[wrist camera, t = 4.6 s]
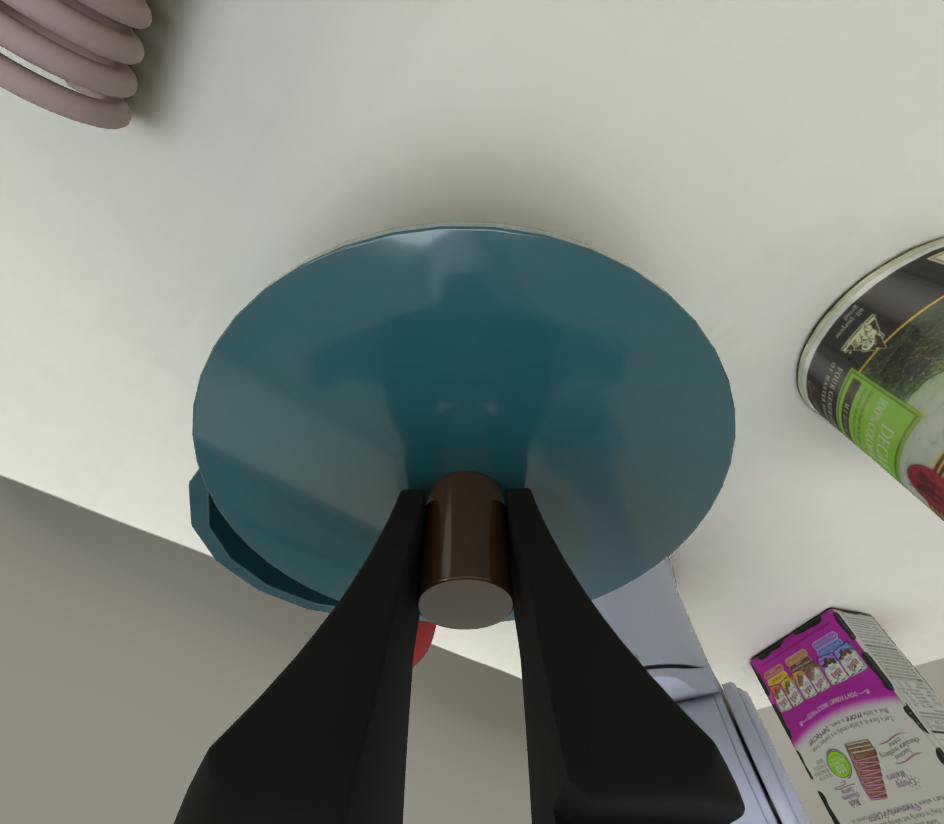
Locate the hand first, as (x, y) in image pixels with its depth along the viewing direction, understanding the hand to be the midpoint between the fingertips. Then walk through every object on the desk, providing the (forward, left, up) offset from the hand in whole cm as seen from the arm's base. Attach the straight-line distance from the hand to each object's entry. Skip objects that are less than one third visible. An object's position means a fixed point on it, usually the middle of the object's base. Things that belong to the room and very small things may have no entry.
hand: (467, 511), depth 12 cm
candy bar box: (-42, -16, -11) cm, 46 cm away
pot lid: (0, 0, -1) cm, 1 cm away
